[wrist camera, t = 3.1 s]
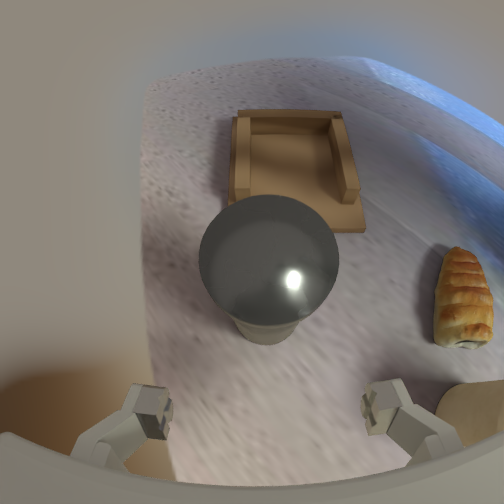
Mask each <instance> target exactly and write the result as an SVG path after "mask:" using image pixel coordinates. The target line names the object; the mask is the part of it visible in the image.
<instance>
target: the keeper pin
mask: <svg viewBox="0 0 504 504" xmlns="http://www.w3.org/2000/svg"><path fill="white" fill-rule="evenodd" d="M338 268H339V252H338V246H337V243H336V239H335V237H334V235H333V232H332V230H331V229H330V227H329V226H328V224H327V223H326V221H325V220H324V219H323V218H322V217H321V216H320V215H319V214H318V213H317V212H316V211H315V210H313V209H312V208H311V207H309V206H308V205H306V204H304V203H302V202H300V201H298V200H296V199H293V198H290V197H286V196H281V195H271V194H267V195H256V196H251V197H247V198H244V199H242V200H239V201H237V202H235V203H233V204H231V205H229V206H228V207H227V208H225V209H224V210H222V211H221V212H220V213H219V214H218V215H217V216H216V217H215V218H214V219H213V221H212V222H211V223H210V225H209V226H208V228H207V229H206V232H205V234H204V236H203V238H202V241H201V245H200V250H199V269H200V273H201V277H202V280H203V283H204V285H205V287H206V289H207V291H208V292H209V294H210V296H211V297H212V299H213V300H214V302H215V303H216V304H217V306H218V307H219V308H220V309H221V310H222V311H223V312H224V313H225V314H227V315H228V316H230V317H231V318H232V319H233V320H234V322H235V324H236V326H237V328H238V329H239V331H240V332H241V334H242V335H243V336H244V337H245V338H247V339H248V340H249V341H251V342H253V343H256V344H260V345H273V344H277V343H279V342H281V341H283V340H285V339H286V338H287V337H289V336H290V335H291V333H292V332H293V331H294V329H295V328H296V326H297V325H298V323H299V322H300V321H302V320H303V319H305V318H307V317H308V316H310V315H311V314H312V313H313V312H314V311H315V310H316V309H317V308H318V307H319V306H320V305H321V304H322V303H323V301H324V300H325V299H326V297H327V296H328V294H329V293H330V291H331V289H332V287H333V285H334V283H335V281H336V277H337V274H338Z"/></svg>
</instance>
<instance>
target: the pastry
mask: <svg viewBox="0 0 504 504" xmlns="http://www.w3.org/2000/svg"><path fill="white" fill-rule="evenodd" d="M434 294H435V307H434V315H433V332H434V335H433V337H434V341H435V343H436V344H437V345H438V346H443V347H445V348H453V347H461V346H463V347H465V348H467V349H477V348H480V347H482V346H484V345H485V344H487V343H488V342H489V341H490V340H491V338H492V336H493V332H492V327H493V317H494V314H493V307H492V306H493V297H492V295H491V293H490V290H489V287H488V285H487V282H486V278H485V276H484V272H483V270H482V268H481V265H480V263H479V262H478V260H477V257H476V256H475V255H474V254H472V253H471V252H469V251H466V250H463V249H461V248H460V247H457V246H456V247H454V248H452V249H451V250H450V251H449V252H448V253H447V254H446V255H445V256H444V258H443V263H442V266H441V272H440V273H439V279H438V283H437V286H436V288H435V290H434Z"/></svg>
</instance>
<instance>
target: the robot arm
mask: <svg viewBox="0 0 504 504" xmlns="http://www.w3.org/2000/svg"><path fill="white" fill-rule="evenodd" d="M365 392H366V393H365V394H364V395H363V396H362V399H361V413H362V416H363V417H364V418H365V419H367V420H366V423H365V427H366V430H367V433H368V436H372V435H378V434H384V433H387V435H388V436H389V437H390V438H391V439H393V440H394V441H395V442H396V443H397V444H398V445H399V446H400V447H401V448H403V449H404V450H405V451H406V452H407V453H408V454H409V455H410V456H411V457H412V458H411V459H410V461H409V462H408V464H407V465H406V466H405V467H403V468H399V469H395V470H391V471H387V472H382V473H378V474H373V475H368V476H363V477H358V478H352V479H345V480H339V481H331V482H323V483H314V484H303V485H288V486H220V485H206V484H195V483H186V482H178V481H171V480H164V479H158V478H152V477H146V476H140V475H136V474H131V473H129V471H128V470H127V469H126V467H125V466H124V465H123V462H124V461H125V460H126V459H127V458H128V457H129V456H131V455H132V454H133V453H134V452H135V451H136V450H137V449H138V448H139V447H140V446H141V445H142V444H143V443H144V442H145V441H146V440H147V438H150V439H158V440H167V437H168V433H169V429H170V428H169V425H168V423H169V422H170V421H172V417H173V403H172V400H171V399H170V398H169V390H168V388H166V387H159V386H150V385H142V384H135V383H133V384H132V385H131V387H130V389H129V392H128V394H127V396H126V399H125V401H124V403H123V406H122V408H121V410H117V411H115V412H114V413H112V414H111V415H109V416H108V417H106V418H105V419H103V420H102V421H101V422H99V423H98V424H96V425H94V426H93V427H91V428H90V429H88V430H87V431H85V432H84V433H82V434H81V435H80V436H79V437H78V439H77V442H76V444H75V446H74V448H73V450H72V452H71V455H70V456H67V455H64V454H61V453H58V452H55V451H53V450H50V449H48V448H45V447H42V446H40V445H38V444H35V443H33V442H30V441H28V440H26V439H24V438H22V437H19V436H17V435H15V434H13V433H10V432H4V433H1V434H0V504H504V430H502V431H500V432H498V433H496V434H494V435H492V436H490V437H487V438H485V439H483V440H481V441H478V442H476V443H474V444H471V445H469V446H466V447H464V446H463V444H462V442H461V440H460V438H459V436H458V434H457V432H456V430H455V428H454V427H453V426H451V425H450V424H448V423H446V422H445V421H443V420H441V419H440V418H438V417H437V416H435V415H433V414H432V413H430V412H429V411H427V410H426V409H424V408H422V407H421V406H419V405H418V404H413V402H412V400H411V398H410V396H409V394H408V392H407V390H406V387H405V385H404V383H403V381H402V379H400V378H397V379H391V380H384V381H378V382H371V383H367V384H366V386H365Z"/></svg>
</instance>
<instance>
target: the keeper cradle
mask: <svg viewBox="0 0 504 504" xmlns="http://www.w3.org/2000/svg"><path fill="white" fill-rule="evenodd" d="M360 189H361V188H360V184H359V179H358V175H357V171H356V167H355V162H354V158H353V154H352V150H351V147H350V143H349V139H348V135H347V132H346V128H345V125H344V121H343V118H342V114H341V112H337V111H321V110H292V109H258V110H238V117H233V121H232V137H231V154H230V172H229V191H228V206H229V205H231V204H233V203H235V202H237V201H239V200H242V199H244V198H247V197H251V196H256V195H267V194H271V195H281V196H286V197H290V198H293V199H296V200H298V201H300V202H302V203H304V204H306V205H308V206H309V207H311V208H312V209H313V210H315V211H316V212H317V213H318V214H319V215H320V216H321V217H322V218H323V219H324V220H325V221H326V223H327V224H328V226H329V227H330V229H331V230H332V232H333V233H364V231H365V229H366V225H365V220H364V214H363V209H362V204H361V199H360V194H359V192H360Z"/></svg>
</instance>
